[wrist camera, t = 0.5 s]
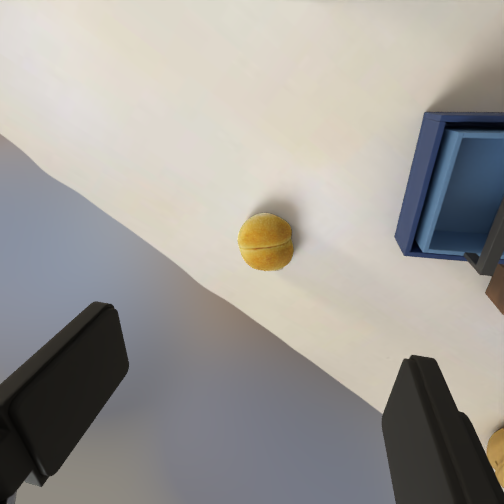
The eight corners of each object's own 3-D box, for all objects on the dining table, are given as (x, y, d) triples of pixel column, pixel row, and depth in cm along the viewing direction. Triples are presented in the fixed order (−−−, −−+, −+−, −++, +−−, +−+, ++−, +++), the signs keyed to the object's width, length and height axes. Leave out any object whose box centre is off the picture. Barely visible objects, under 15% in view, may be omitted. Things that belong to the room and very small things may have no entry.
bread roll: (289, 208, 43) (286, 218, 39) (296, 262, 47) (294, 276, 43) (234, 213, 45) (227, 223, 41) (245, 265, 49) (239, 278, 45)
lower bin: (424, 111, 34) (441, 115, 29) (549, 112, 32) (590, 116, 27) (394, 237, 42) (403, 255, 37) (494, 244, 39) (518, 265, 35)
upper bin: (436, 125, 34) (478, 137, 25) (532, 127, 32) (615, 140, 23) (408, 230, 40) (434, 270, 31) (488, 236, 39) (540, 280, 29)
